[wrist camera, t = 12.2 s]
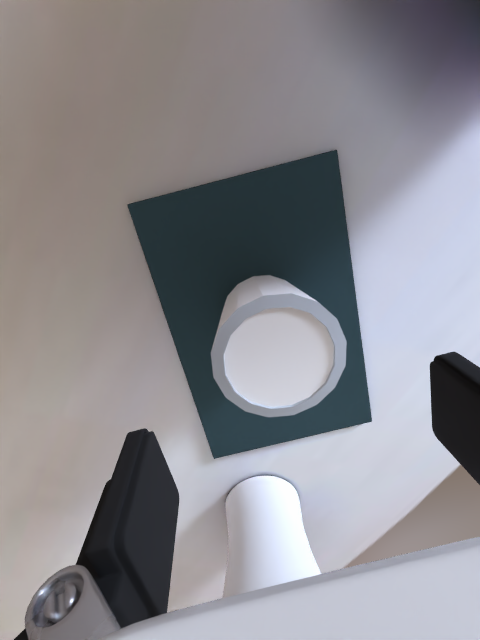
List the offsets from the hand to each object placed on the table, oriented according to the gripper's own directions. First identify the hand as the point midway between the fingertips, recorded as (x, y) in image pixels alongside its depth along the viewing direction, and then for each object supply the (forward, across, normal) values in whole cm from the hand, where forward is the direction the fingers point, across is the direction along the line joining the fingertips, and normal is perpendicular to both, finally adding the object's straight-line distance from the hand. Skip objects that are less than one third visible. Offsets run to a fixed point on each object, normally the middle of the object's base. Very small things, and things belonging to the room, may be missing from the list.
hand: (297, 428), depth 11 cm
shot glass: (+13, 0, +1) cm, 13 cm away
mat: (+13, 0, +2) cm, 13 cm away
